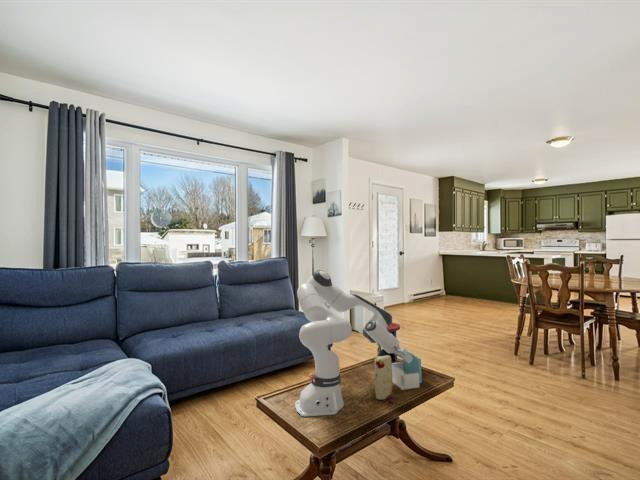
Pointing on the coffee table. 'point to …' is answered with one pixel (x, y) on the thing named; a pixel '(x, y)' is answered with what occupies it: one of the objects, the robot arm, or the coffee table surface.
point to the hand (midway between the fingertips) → (407, 360)
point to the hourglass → (391, 329)
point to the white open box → (404, 377)
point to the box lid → (413, 366)
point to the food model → (383, 377)
